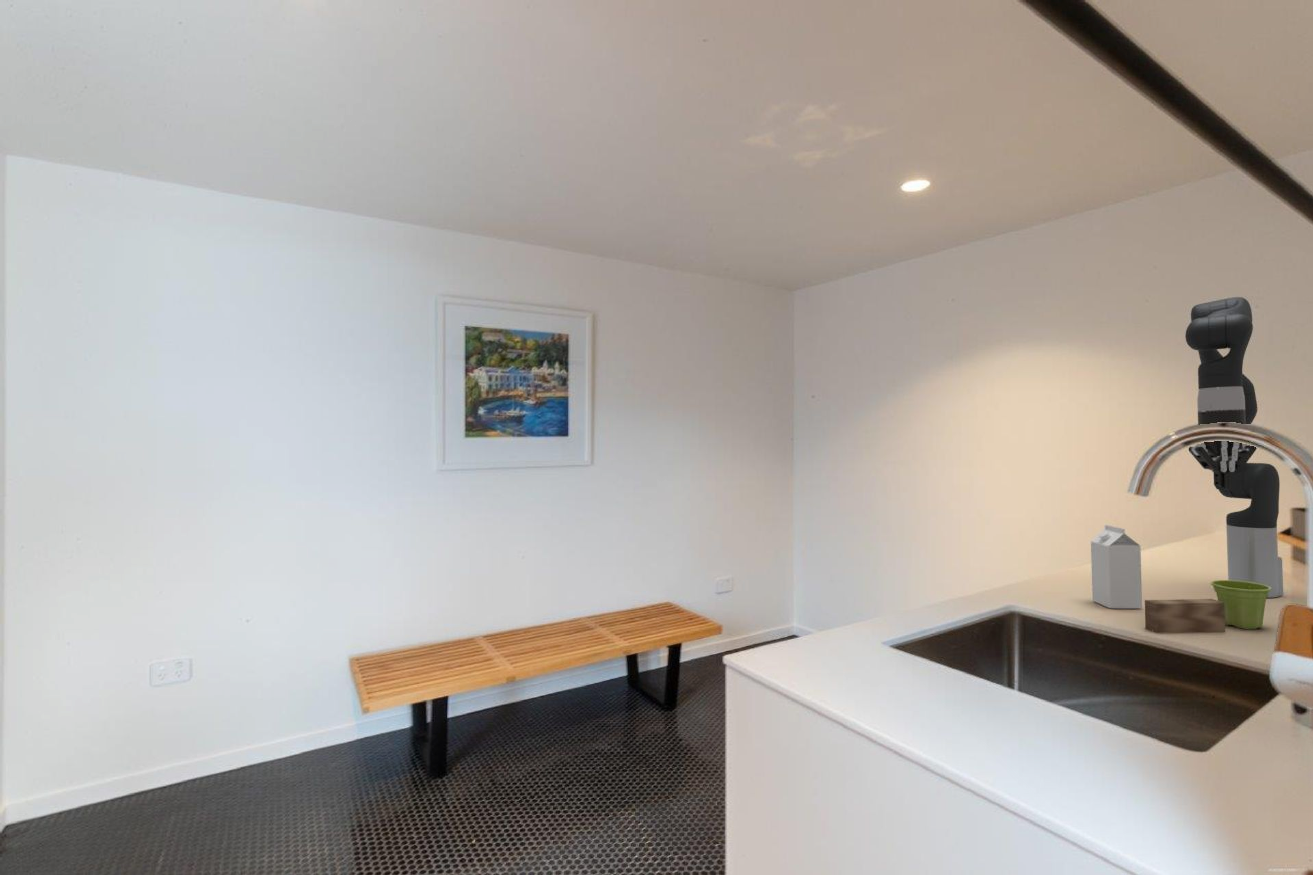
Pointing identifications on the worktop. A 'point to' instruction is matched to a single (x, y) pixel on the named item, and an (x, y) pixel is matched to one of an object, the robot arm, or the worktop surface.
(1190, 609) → the brown block
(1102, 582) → the milk carton
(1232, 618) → the plant pot
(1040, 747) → the worktop surface
